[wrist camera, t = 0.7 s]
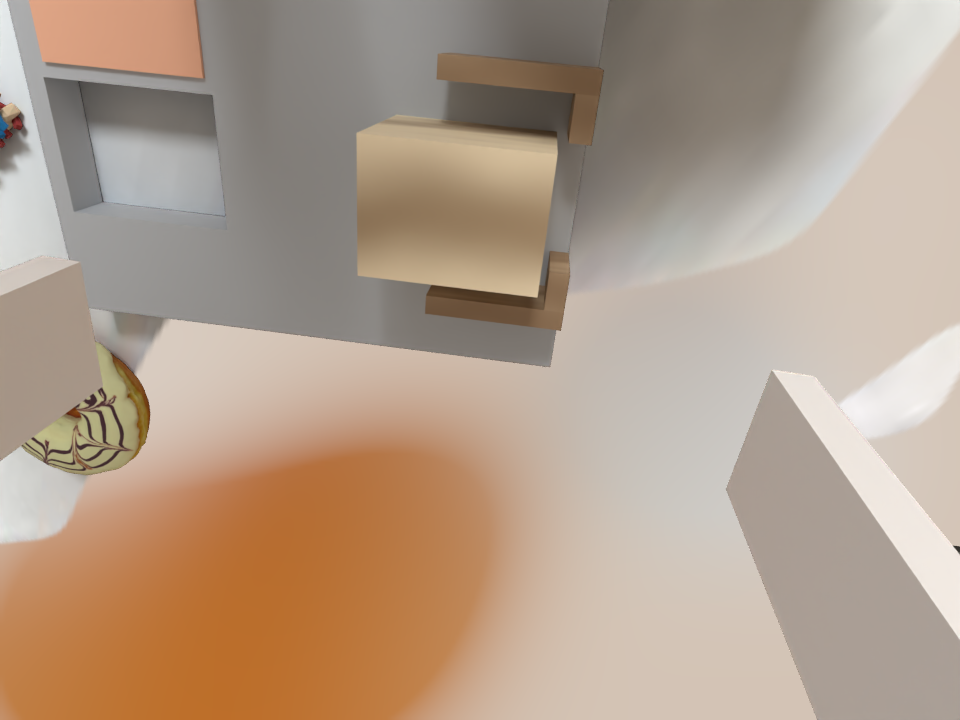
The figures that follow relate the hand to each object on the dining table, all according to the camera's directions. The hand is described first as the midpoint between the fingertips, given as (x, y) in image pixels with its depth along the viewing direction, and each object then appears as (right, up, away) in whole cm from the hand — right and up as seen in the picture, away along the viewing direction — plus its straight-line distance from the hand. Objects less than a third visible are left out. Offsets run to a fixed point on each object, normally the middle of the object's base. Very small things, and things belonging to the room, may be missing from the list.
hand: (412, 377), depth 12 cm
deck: (-8, +12, +22) cm, 26 cm away
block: (+1, +9, +20) cm, 22 cm away
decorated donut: (-27, -2, +32) cm, 42 cm away
